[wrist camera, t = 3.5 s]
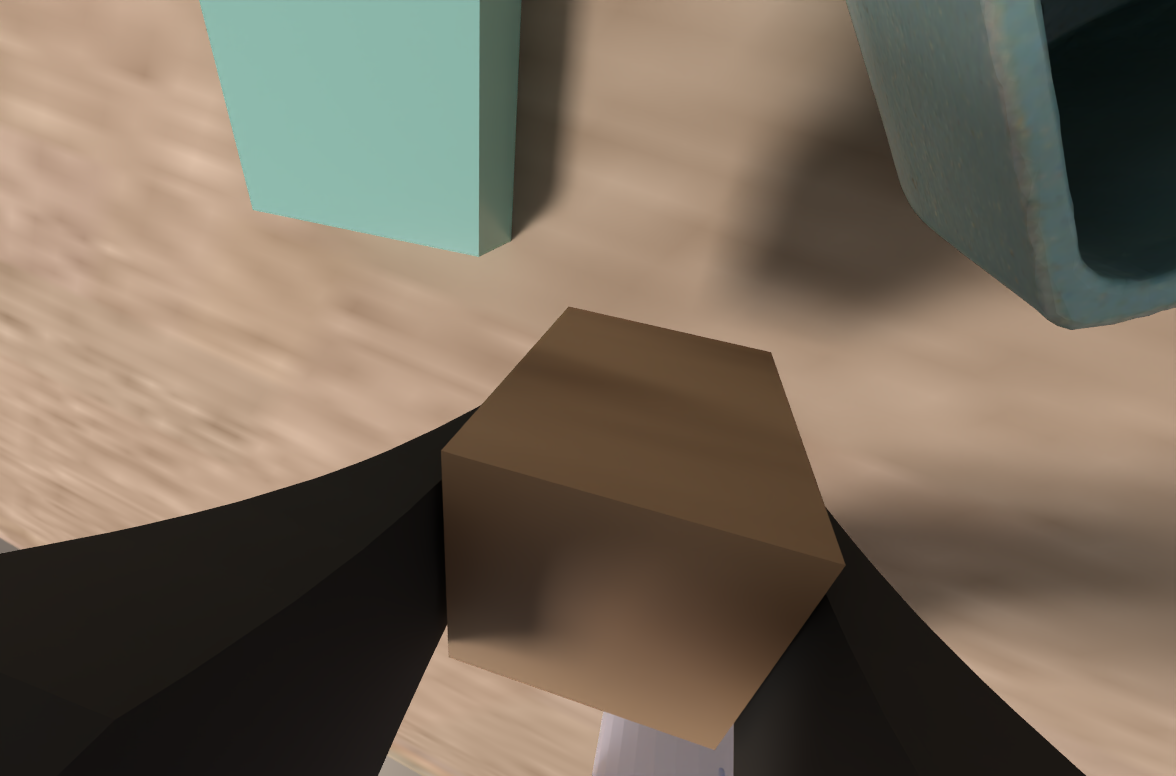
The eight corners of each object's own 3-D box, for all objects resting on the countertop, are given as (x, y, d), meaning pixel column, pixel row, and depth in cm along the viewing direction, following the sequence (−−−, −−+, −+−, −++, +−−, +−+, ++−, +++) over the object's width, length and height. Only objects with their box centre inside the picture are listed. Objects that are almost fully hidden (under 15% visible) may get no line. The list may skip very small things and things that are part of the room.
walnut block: (709, 503, 11) (714, 750, 7) (549, 459, 12) (448, 656, 7) (771, 352, 9) (845, 565, 4) (569, 306, 10) (441, 451, 5)
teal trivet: (515, 238, 16) (478, 256, 13) (321, 200, 17) (252, 209, 14) (529, -68, 11) (479, -130, 9) (270, -94, 12) (159, -156, 10)
